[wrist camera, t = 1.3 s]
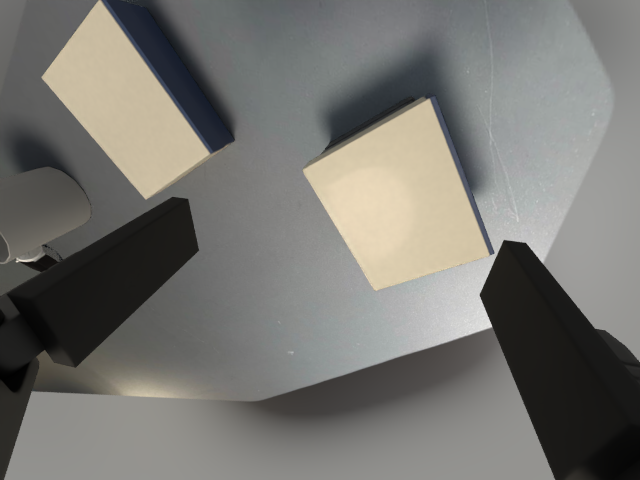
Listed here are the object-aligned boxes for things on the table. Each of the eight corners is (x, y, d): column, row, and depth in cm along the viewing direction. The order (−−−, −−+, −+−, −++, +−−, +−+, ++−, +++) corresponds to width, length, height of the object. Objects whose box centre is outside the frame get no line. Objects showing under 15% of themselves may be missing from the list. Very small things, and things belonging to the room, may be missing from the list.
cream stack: (148, 5, 25) (99, -8, 21) (237, 140, 30) (213, 152, 26) (88, 76, 30) (38, 77, 25) (174, 184, 34) (144, 200, 30)
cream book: (430, 92, 20) (435, 94, 18) (486, 238, 25) (495, 254, 22) (309, 161, 24) (301, 169, 22) (375, 275, 29) (374, 291, 27)
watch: (63, 253, 45) (39, 266, 42) (66, 273, 47) (44, 287, 44) (17, 232, 45) (-11, 244, 42) (23, 254, 47) (-3, 267, 44)
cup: (75, 233, 42) (-3, 274, 34) (25, 188, 39) (-74, 220, 31) (101, 205, 38) (19, 243, 30) (47, 154, 36) (-58, 179, 27)
